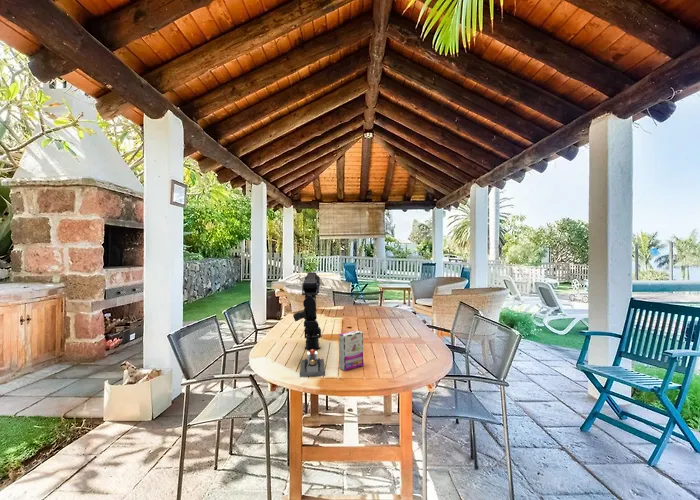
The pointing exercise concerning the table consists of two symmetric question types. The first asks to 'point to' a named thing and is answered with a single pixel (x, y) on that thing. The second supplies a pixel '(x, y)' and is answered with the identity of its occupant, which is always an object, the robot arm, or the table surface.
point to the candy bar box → (350, 350)
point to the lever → (312, 356)
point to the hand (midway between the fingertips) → (310, 336)
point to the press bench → (320, 373)
